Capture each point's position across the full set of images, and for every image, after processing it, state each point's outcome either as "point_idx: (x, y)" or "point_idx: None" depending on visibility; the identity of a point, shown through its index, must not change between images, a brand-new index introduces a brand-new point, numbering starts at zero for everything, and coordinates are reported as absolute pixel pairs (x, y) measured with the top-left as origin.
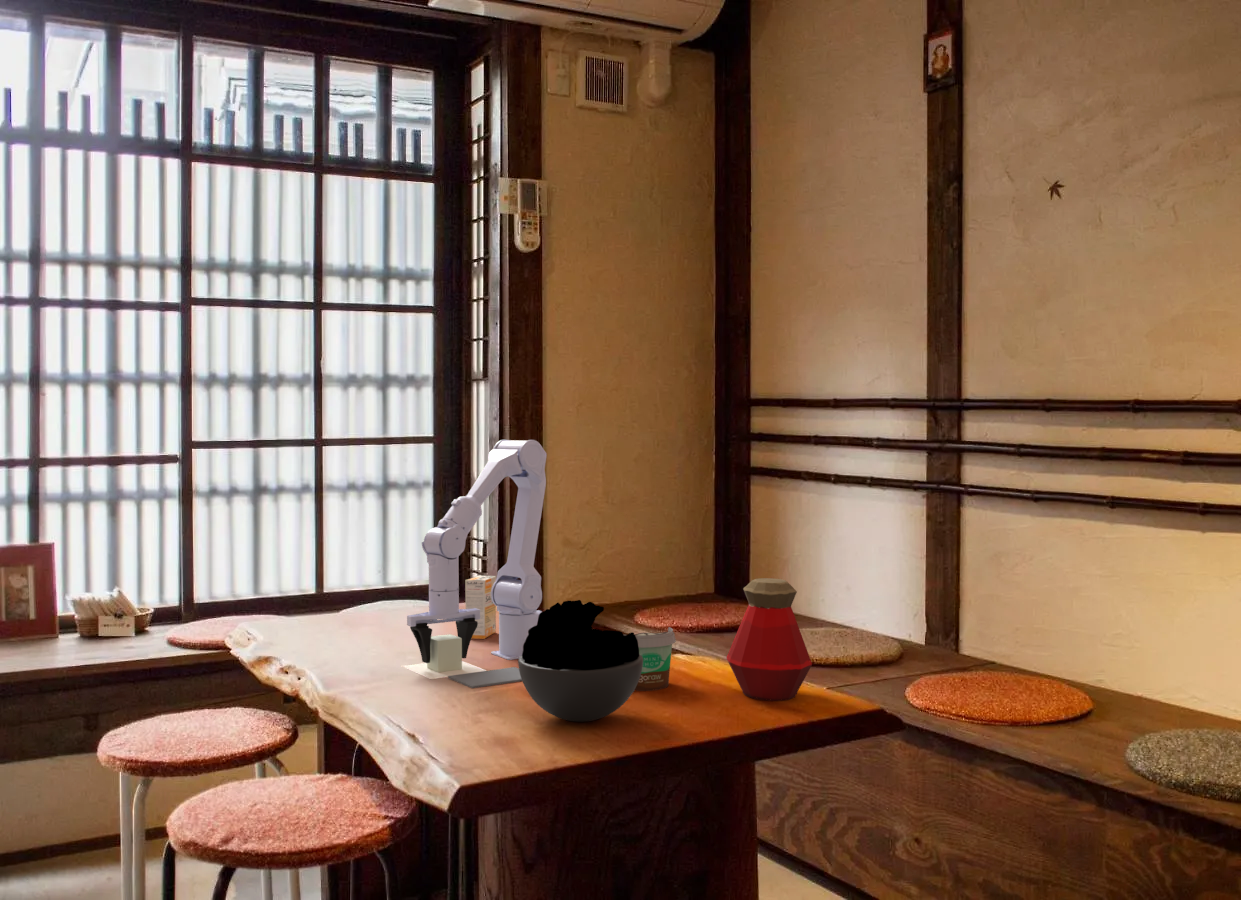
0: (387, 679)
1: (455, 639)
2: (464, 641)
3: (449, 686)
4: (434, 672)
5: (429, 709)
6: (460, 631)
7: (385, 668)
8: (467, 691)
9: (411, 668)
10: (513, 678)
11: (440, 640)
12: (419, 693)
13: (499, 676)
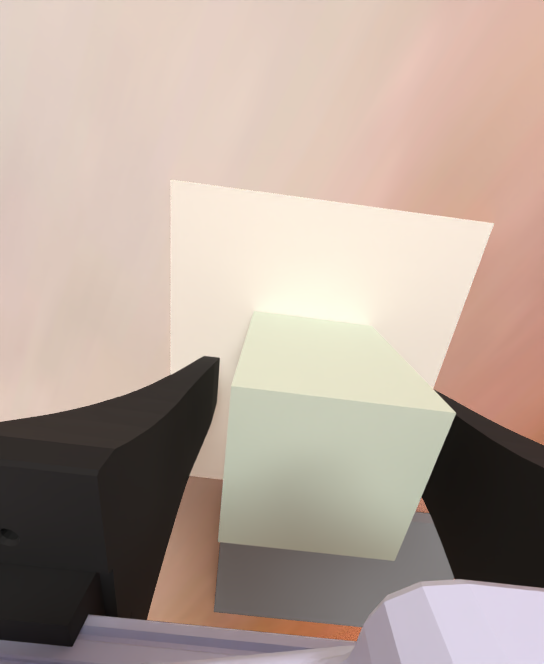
0: (37, 366)
1: (347, 550)
2: (431, 502)
3: (184, 550)
4: None
5: None
6: (497, 511)
7: (92, 146)
8: (196, 604)
9: (189, 272)
10: (354, 615)
11: (240, 540)
12: None
13: (344, 583)
